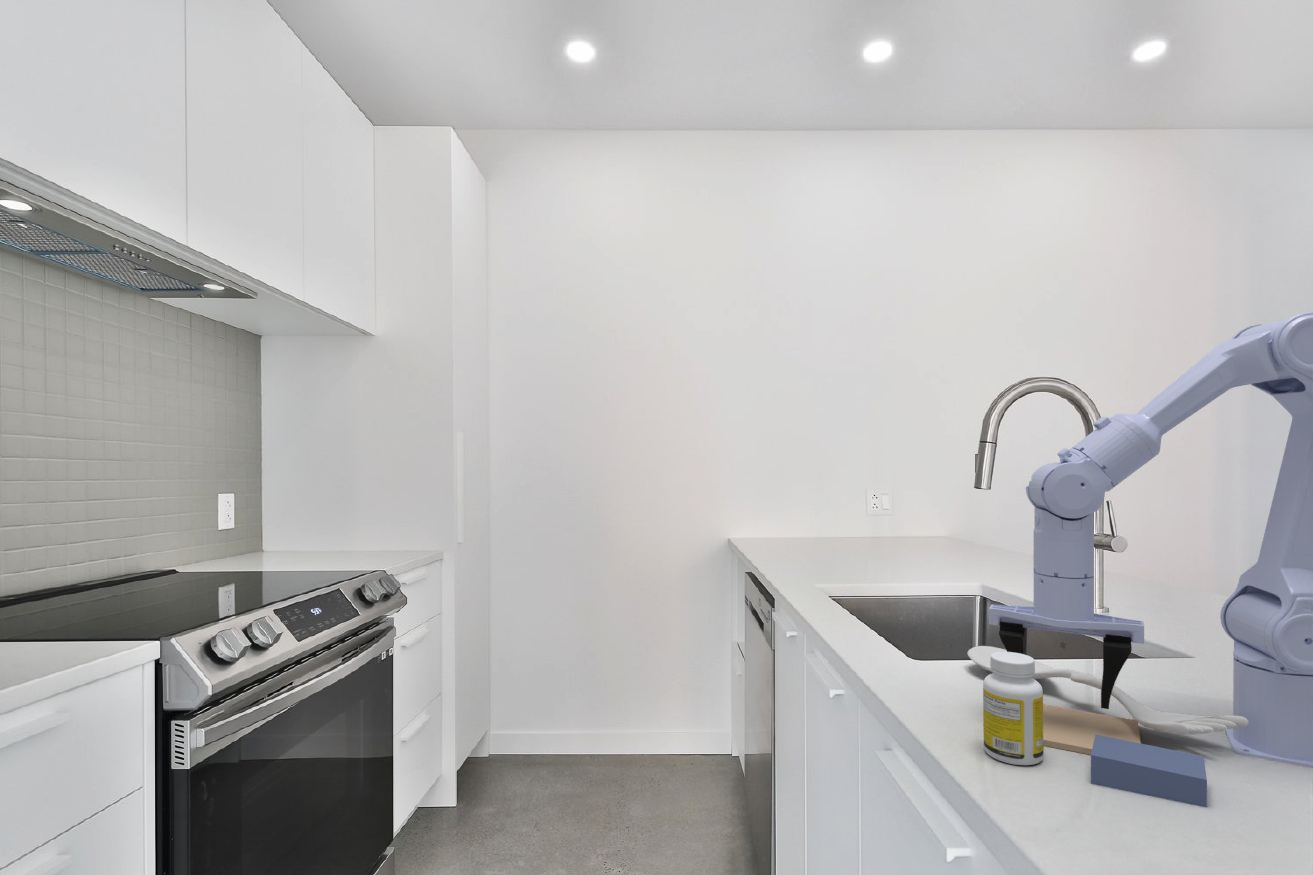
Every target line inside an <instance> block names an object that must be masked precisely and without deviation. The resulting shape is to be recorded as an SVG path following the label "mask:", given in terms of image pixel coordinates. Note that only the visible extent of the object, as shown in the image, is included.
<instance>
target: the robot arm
mask: <svg viewBox="0 0 1313 875" xmlns="http://www.w3.org/2000/svg"><path fill="white" fill-rule="evenodd" d="M1249 385H1251V386H1252V387H1255V389H1259V390H1260V391H1262V392H1264V393H1266V394H1267V395H1269V396H1271V397H1273V398H1274V399H1275V400H1276V401H1277V402H1278V403H1279V404H1280V405H1281V406H1282V407H1283V408H1284V409H1285V410H1286V411H1287V413H1288V414H1290V416H1291V418H1292V420H1291V424H1290V427H1289V431H1288V432H1289V433H1288V436H1287V440H1286V444H1285V448H1284V453H1283V455H1282V460H1281V464H1280V469H1279V472H1278V477H1277V482H1276V484H1275V489H1274V493H1273V496H1272V501H1271V506H1270V509H1269V513H1268V517H1267V522H1266V526H1265V530H1264V533H1263V537H1262V541H1261V546H1260V551H1259V555H1258V557H1257V558H1258V559H1257V561H1256V563H1254V564H1253V565H1252V566H1251V567H1249V568H1248V569H1247V570H1245V571H1244V572H1243V573H1242V574H1240V576H1239V579H1238V584H1237V586H1236V588H1235V590H1234V591H1233V593H1231V595H1230V596H1229V597H1228V598H1227V599H1226V600H1225V601H1224V603H1223V605H1222V607H1221V609H1220V616H1219V617H1220V624H1221V626H1222V628H1223V630H1224V632H1225V634H1226V635H1227V636H1228V637H1229V638H1230V639H1232V640H1233V652H1232V655H1233V657H1232V658H1233V662H1232V663H1233V664H1232V665H1233V670H1232V672H1233V674H1232V678H1233V679H1232V680H1233V681H1232V682H1233V684H1232V685H1233V687H1232V690H1233V691H1232V692H1233V694H1232V699H1233V700H1232V711H1233V712H1232V715H1234V716H1241V717H1244V718H1246V719H1247V720H1248V722H1249V723H1248V725H1247V726H1245V727H1240V726H1236V727H1235V728H1231V729H1226V730H1224V732H1225V734H1226V737H1227V739H1228V742H1229V744H1230V748H1231V750H1232V751H1233V753H1234V754H1236V755H1241V756H1246V757H1252V758H1256V759H1262V760H1268V761H1274V762H1278V763H1284V764H1289V765H1295V766H1300V767H1301V766H1302V767H1306V768H1310V769H1312V768H1313V311H1308V312H1302V313H1299V314H1296V315H1294V316H1291V317H1289V318H1285V319H1281V320H1278V321H1277V320H1276V321H1273V322H1268V323H1264V324H1254V325H1250V326H1247V327H1244V328H1243V329H1241V330H1239V331H1237V332H1236V333H1235V334H1234V335H1233V336H1232V337H1231V338H1230V339H1227V340H1224V341H1222V342H1221V343H1219V344H1218V345H1215V347H1213V348H1212V349H1211V350H1210V351H1209V352H1208V353H1207V354H1206V355H1204V356H1203V357H1202V358H1200V360H1198V361H1197V362H1196V363H1195V364H1194V365H1192V366H1191V367H1190V368H1189V369H1188V370H1186V371H1185V372H1184V373H1183V374H1181V375H1180V376H1179V377H1178V378H1177V379H1176V380H1174V381H1173V382H1172V383H1171V384H1170V385H1168V386H1167V387H1166V388H1165V389H1164V390H1162V392H1160V393H1159V394H1158V395H1157V396H1155V397H1154V398H1153V399H1151V401H1150V402H1148V403H1146V405H1145V406H1143V407H1142V408H1141V409H1140V410H1138V412H1136V413H1135V414H1134V413H1133V414H1130V413H1115V414H1114V415H1113V416H1111V417H1108V416H1101V417H1100V418H1099V419H1097V420H1096V421H1095V422H1093V423H1092V426H1093V427H1094V428H1095V429H1094V430H1093V431H1092V432H1090V433H1089V434H1087V435H1086V436H1085V437H1084V438H1083V439H1081V440H1080V441H1078V442H1077V443H1076V444H1075V445H1073V446H1072V447H1071V448H1070V449H1069V448H1065V447H1064V448H1062V449H1061V450H1060V451H1058V452H1057V456H1058V457H1059V461H1060V462H1052V463H1051V462H1049V463H1046V464H1043V465H1042V466H1040V467H1038V468H1037V469H1036V470H1035V471H1034V472H1033V474H1032V475H1031V477H1030V478H1031V480H1030V481H1029V482H1028V485H1026V486H1025V494H1026V496H1027V498H1028V501H1029V502H1030V504H1032V505H1033V507H1034V528H1033V606H1021V605H1003V604H1002V605H1001V604H990V606H989V608H988V625H990V626H997V627H999V631H998V636H999V638H1000V641H1001V644H1002V645H1003V646H1004V649H1005V650H1006V651H1007V652H1014V653H1020V654H1024V655H1027V648H1028V647H1027V642H1028V638H1027V637H1028V629H1035V630H1040V631H1042V630H1043V631H1048V632H1049V631H1050V632H1057V633H1058V632H1059V633H1065V634H1066V633H1067V634H1073V635H1074V634H1075V635H1082V636H1089V637H1090V636H1092V637H1098V638H1099V637H1100V638H1102V642H1103V643H1102V644H1103V645H1102V649H1103V650H1102V654H1103V655H1102V659H1103V660H1102V677H1101V680H1102V687H1101V689H1100V708H1101V709H1104V710H1110V701H1111V697H1112V695H1111V693H1112V690H1113V687H1114V685H1115V684H1116V681H1117V679H1118V676H1119V674H1120V673H1121V671H1122V668H1123V666H1125V663H1126V662H1127V660H1128V658H1129V656H1130V655H1131V653H1132V650H1133V649H1132V648H1133V646H1132V643H1134V644H1142V645H1144V644H1145V624H1144V621H1143V620H1136V619H1128V618H1122V617H1118V616H1116V617H1115V616H1112V615H1105V614H1099V613H1095V534H1094V513H1095V512H1097V511H1099V509H1100V508H1101V507H1102V505H1103V503H1104V499H1105V495H1106V492H1107V493H1108V492H1111V490H1113V489H1114V488H1115V487H1117V486H1118V485H1119V484H1121V483H1122V482H1123V481H1124V480H1126V479H1127V478H1129V477H1130V476H1131V475H1133V474H1134V473H1135V472H1137V470H1139V469H1141V468H1142V467H1143V466H1145V465H1146V464H1147V463H1149V462H1150V461H1152V459H1154V458H1155V457H1156V456H1157V455H1159V454H1160V451H1161V446H1162V445H1161V443H1162V437H1163V435H1165V434H1167V433H1168V432H1170V431H1171V430H1172V429H1173V428H1175V427H1177V426H1178V425H1180V424H1181V423H1183V422H1184V421H1186V420H1187V419H1189V418H1190V417H1191V416H1192V415H1194V414H1196V413H1197V412H1199V411H1200V410H1202V408H1204V407H1206V406H1208V405H1209V404H1211V402H1213V401H1215V400H1216V399H1217V398H1218V397H1220V396H1222V395H1223V394H1225V393H1226V392H1228V391H1229V390H1231V389H1233V388H1238V387H1242V386H1249Z"/></svg>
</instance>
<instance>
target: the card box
mask: <svg viewBox="0 0 1313 875" xmlns="http://www.w3.org/2000/svg"><path fill="white" fill-rule="evenodd" d="M1205 762H1206V761H1205V757H1204V755H1200V754H1194V753H1190V752H1186V751H1180V750H1174V749H1169V748H1164V747H1161V746H1160V747H1159V746H1156V745H1155V746H1154V745H1150V744H1146V743H1145V744H1144V743H1142V742H1141V743H1136V742H1131V741H1126V740H1121V739H1116V738H1111V737H1106V736H1101V735H1096V734H1095V739H1094V743H1093V748H1092V752H1091V755H1090V784H1092V785H1095V786H1101V787H1106V788H1109V789H1110V788H1111V789H1115V790H1121V791H1123V792H1130V793H1134V794H1139V795H1143V796H1149V797H1155V798H1159V799H1164V800H1169V801H1173V802H1179V803H1184V804H1188V805H1193V806H1197V807H1202V808H1207V807H1208V800H1207V799H1208V798H1207V795H1208V782H1207V781H1208V779H1207V771H1206V764H1205Z"/></svg>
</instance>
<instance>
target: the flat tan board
mask: <svg viewBox="0 0 1313 875" xmlns="http://www.w3.org/2000/svg"><path fill="white" fill-rule="evenodd" d="M1095 734H1096V735H1101V736H1106V737H1111V738H1116V739H1121V740H1126V741H1131V742H1136V743H1141V744H1142V742H1141V735H1140V726H1139V723H1138V722H1137V721H1135V720H1134V719H1130V718H1124V717H1120V716H1119V717H1118V716H1113V715H1107V714H1103V713H1102V714H1101V713H1097V712H1090V711H1083V710H1078V709H1073V708H1072V709H1071V708H1068V707H1067V708H1066V707H1061V706H1054V705H1050V704H1044V703H1043V747H1050V748H1053V749H1054V748H1055V749H1060V750H1065V751H1070V752H1074V753H1080V754H1085V755H1090V756H1091V752H1092V748H1093V743H1094V739H1095Z"/></svg>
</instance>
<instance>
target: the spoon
mask: <svg viewBox="0 0 1313 875" xmlns="http://www.w3.org/2000/svg"><path fill="white" fill-rule="evenodd" d="M995 652H1007V651H1006V648H999V647H995V646H988V645H979V646H974V647H971V648H969V649H968V651H967V653H966V654H967V656H968V657H969V659H970V660H971V661H972V662H973V663H975V664H977V665H978V666H980V667H981V668H983V669H984V670H985V671H986V670H987V671H988V672H990V673H993V671H992V670H991V666H990V659H991V654H992V653H995ZM1034 661H1035V672H1034V673H1035V674H1034V675H1033V676H1032V678H1033V679H1034V680H1039V679H1047V678H1050V679H1051V678H1065V679H1070V680H1071V681H1072V682H1074V683H1079V684H1082V685H1086V686H1090V687H1092V688H1096V689H1098V690H1101V687H1102V678H1098V677H1096V676H1094V675H1092V674H1090V673H1087V672H1083V671H1082V672H1081V671H1077V670H1074V669H1069V668H1054V667H1052V666H1049V665H1046V664H1045V663H1042V662H1040V661H1037V660H1036V659H1034ZM1111 697H1113V698H1114V699H1115V700H1117V701H1118V703H1120V704H1121V705H1122V706H1123V707H1124V709H1125V710H1126V711H1127V712H1128V713H1129V715H1130V716H1131V717H1132V720H1135V721H1137V722H1138V725H1140V726H1143V727H1146V728H1149V729H1152V730H1153V731H1157V732H1161V733H1165V734H1170V735H1171V734H1173V735H1185V736H1186V735H1188V736H1191V735H1205V734H1212V733H1213V732H1223V731H1225V730H1226V729H1231V728H1235V727H1236V726H1240V727H1245V726H1247V725H1248V723H1249V722H1248V720H1247V719H1246V718H1244V717H1241V716H1234V715H1233V714H1232V715H1231V714H1229V715H1227V714H1225V715H1211V716H1210V715H1209V716H1206V715H1205V716H1204V715H1195V714H1188V713H1180V712H1169V711H1163V710H1157V709H1154V708H1151V707H1149V706H1146V705H1144V704H1142V703H1141V702H1139V701H1137V700H1136V699H1135V698H1133V697H1132V696H1131V695H1129V694H1127V693H1126V692H1125V691H1124V690H1122V689H1121V688H1120V687H1118V686H1116V685H1115V684H1114V687H1113V690H1112V693H1111Z"/></svg>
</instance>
